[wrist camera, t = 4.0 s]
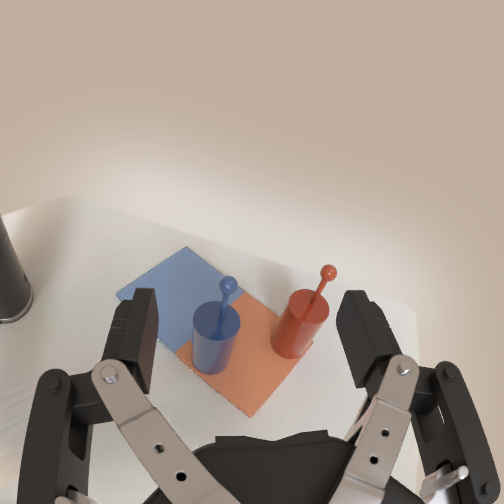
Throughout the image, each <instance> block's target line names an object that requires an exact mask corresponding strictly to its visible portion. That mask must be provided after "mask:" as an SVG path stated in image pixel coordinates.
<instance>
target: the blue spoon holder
mask: <svg viewBox="0 0 504 504" xmlns="http://www.w3.org/2000/svg"><path fill="white" fill-rule="evenodd" d="M237 288H238V282H237V280H236V279H235V278H234V277H232V276H224V277H223V278H221V280H220V282H219V289H220V291H221V292H222V293H223V298H222V302H220V301H210V302H206V303H204V304H202V305H200V306H199V307H198V308H197V309H196V311H195V312H194V315H193V324H192V338H191V354H190V358H191V362H192V364H193V366H194V367H195V368H196V369H197V370H198V371H200V372H202V373H204V374H208V375H214V374H218V373H220V372H222V371H224V370H225V369H226V368H227V366H228V364H229V361H230V358H231V355H232V351H233V348H234V345H235V342H236V339H237V335H238V332H239V329H240V324H241V321H240V317H239V315H238V313H237V311H236V310H235V309H234V308H233V307H232V306H230V305H229V304H228V300H229V296H230V295H231V294H233V293H235V292H236V291H237Z"/></svg>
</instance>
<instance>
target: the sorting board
mask: <svg viewBox="0 0 504 504" xmlns="http://www.w3.org/2000/svg"><path fill="white" fill-rule="evenodd" d="M223 277H224V275H222V274H221V273H220V272H218V271H217V270H216V269H215V268H213V267H212V266H211V265H209V264H208V263H207V262H205V261H204V260H203V259H202V258H200V257H199V256H198V255H196V254H195V253H194V252H193V251H191V250H190V249H189V248H187V247H185V248H183V249H182V250H180V251H179V252H177V253H176V254H174V255H173V256H171V257H170V258H168V259H167V260H165V261H164V262H162V263H160V264H159V265H157V266H156V267H154V268H153V269H151V270H150V271H148V272H147V273H145V274H144V275H142V276H141V277H139V278H138V279H136V280H135V281H133V282H132V283H131V284H129V285H128V286H126V287H125V288H123V289H122V290H120V291H119V292H117V293H116V295H117V297H118V298H119V299H120V300H121V301H123V300H124V299H125V300H132V299H133V295H134V292H135V289H136V288H137V287H138V288H154V289H155V294H156V301H157V307H158V314H159V328H158V334H157V337H158V338H159V339H160V340H161V341H162V342H163V343H164V344H165V345H166V346H167V347H168V348H169V349H170V350H171V351H172V352H173V353H174V354H176V355H177V356H178V357H179V358H180V359H181V360H182V361H183V362H184V363H185V364H187V365H188V366H189V367H190V368H191V369H192V370H193V371H194V372H196V373H197V374H198V375H199V376H200V377H201V378H202V379H204V380H205V381H206V382H207V383H208V384H209V385H211V386H212V387H213V388H214V389H215V390H217V391H218V392H219V393H220V394H221V395H223V396H224V397H225V398H226V399H227V400H229V401H230V402H231V403H232V404H234V405H235V406H236V407H237V408H239V409H240V410H241V411H242V412H244V413H245V414H246V415H248V416H249V417H250V418H251V417H252V416H253V415H254V414H255V413H256V411H257V410H258V409H259V408H260V407H261V406H262V405H263V403H264V402H265V401H266V400H267V399H268V398H269V397H270V395H271V394H272V393H273V392H274V391H275V389H276V388H277V387H278V386H279V385H280V384H281V382H282V381H283V380H284V379H285V377H286V376H287V375H288V374H289V373H290V371H291V370H292V369H293V368H294V366H295V365H296V364H297V363H298V361H299V360H300V359H301V358H302V356H303V355H304V354H305V353H306V351H307V350H308V349H309V347H310V346H311V345H312V344H313V341H311V343H310V344H309V346H308V347H307V348H306V350H305V351H304V353H303V354H302V355H301V356H300V357H298V358H295V359H286V358H283V357H281V356H279V355H278V354H277V353H276V352H275V351H274V350H273V348H272V346H271V336H272V334H273V332H274V330H275V328H276V326H277V324H278V321H279V319H280V317H278V316H277V315H276V314H274V313H273V312H272V311H270V310H269V309H268V308H266V307H265V306H264V305H262V304H261V303H259V302H258V301H257V300H255V299H254V298H253V297H251V296H250V295H249V294H247V293H246V292H245V291H243V290H242V289H241V288H240V287H238V288H237V291H236V292H235V293H233V294H231V295H230V296H229V300H228V304H229V305H230V306H232V307H233V308H234V309H235V310H236V311H237V313H238V315H239V317H240V321H241V324H240V329H239V332H238V335H237V339H236V342H235V345H234V348H233V351H232V355H231V358H230V361H229V364H228V366H227V368H226V369H225V370H224V371H222V372H220V373H218V374H214V375H208V374H204V373H202V372H200V371H198V370H197V369H196V368H195V367H194V366H193V364H192V362H191V358H190V354H191V338H192V324H193V315H194V312H195V311H196V309H197V308H198V307H199V306H200V305H202V304H204V303H206V302H210V301H220V302H222V298H223V293H222V292H221V291H220V289H219V282H220V280H221V278H223Z"/></svg>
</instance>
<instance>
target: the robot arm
mask: <svg viewBox="0 0 504 504" xmlns="http://www.w3.org/2000/svg"><path fill="white" fill-rule="evenodd" d="M32 300H33V290H32V287H31V285H30V283H29V282H28V280H27V278H26V276H25V274H24V272H23V269H22V267H21V265H20V263H19V260H18V258H17V256H16V253H15V251H14V249H13V246H12V244H11V241H10V239H9V236H8V234H7V231H6V228H5V226H4V223H3V220H2V217H1V214H0V323H10V322H14V321H16V320H18V319H20V318H21V317H22V316H23V315H24V314H25V313H26V312H27V311H28V309H29V308H30V306H31V303H32ZM336 326H337V330H338V333H339V336H340V339H341V342H342V345H343V348H344V351H345V354H346V357H347V361H348V364H349V367H350V370H351V373H352V376H353V380H354V383H355V386H356V389H357V388H364V387H365V388H366V391H367V395H366V397H365V399H364V401H363V403H362V406H361V408H360V410H359V412H358V414H357V416H356V418H355V421H354V423H353V425H352V427H351V428H350V430H349V432H348V433H347V435H346V436H345V438H344V439H343V440H342V439H339V438H336V437H331V436H328V431H327V430H320V431H311V432H301V433H298V434H295V435H292V436H289V437H286V438H283V439H280V440H277V441H268V440H262V439H257V438H251V437H246V436H215V441H216V442H215V443H211V444H208V445H205V446H202V447H200V448H198V449H196V450H194V451H193V452H191V451H190V450H189V448H188V447H187V446H186V445H185V444H184V442H183V441H182V440H181V439H180V437H179V436H178V435H177V434H176V432H175V431H174V430H173V429H172V427H171V426H170V425H169V423H168V422H167V421H166V419H165V418H164V417H163V415H162V414H161V413H160V412H159V410H158V409H157V408H156V407H153V406H152V404H151V403H150V402H149V400H148V399H147V397H146V396H145V394H149V390H150V382H151V375H152V367H153V360H154V354H155V347H156V340H157V334H158V328H159V314H158V307H157V301H156V294H155V289H154V288H138V287H137V288H136V289H135V292H134V295H133V299H132V300H125V299H124V300H123V301H122V302H121V303H120V304H119V306H118V307H117V308H116V311H115V314H114V317H113V321H112V324H111V329H110V331H109V334H108V338H107V342H106V345H105V349H104V353H103V356H102V359H101V361H100V362H99V363H98V364H97V365H96V366H95V367H94V369H93V370H91V371H89V372H87V373H83V374H77V375H71V376H69V375H68V374H67V373H66V372H65V371H63V370H61V369H51V370H48V371H46V372H45V373H44V374H43V375H42V376H41V377H40V379H39V381H38V384H37V388H36V392H35V396H34V400H33V404H32V409H31V413H30V418H29V422H28V427H27V432H26V437H25V443H24V449H23V455H22V461H21V468H20V476H19V484H18V494H17V504H97V503H96V502H95V501H94V500H93V499H91V498H89V497H88V477H89V462H90V450H91V440H92V431H93V424H98V423H104V422H110V421H115V423H116V425H117V426H118V428H119V430H120V432H121V433H122V435H123V436H124V438H125V439H126V441H127V443H128V444H129V446H130V447H131V449H132V450H133V452H134V453H135V455H136V456H137V457H138V459H139V460H140V462H141V463H142V465H143V466H144V467H145V469H146V470H147V472H148V473H149V474H150V476H151V477H152V478H153V480H154V481H155V482H156V484H157V485H158V486H159V487H158V488H157V489H156V490H155V491H154V492H153V493H152V494H151V495H150V496H149V497H148V498H147V500H146V501H145V502H144V503H143V504H493V503H494V502H495V501H496V500H497V498H498V496H499V493H500V482H499V478H498V474H497V471H496V468H495V464H494V461H493V457H492V454H491V451H490V448H489V445H488V443H487V439H486V436H485V433H484V430H483V428H482V425H481V422H480V419H479V417H478V414H477V411H476V409H475V406H474V404H473V401H472V398H471V396H470V394H469V391H468V389H467V387H466V384H465V382H464V379H463V377H462V375H461V372H460V370H459V369H458V368H457V366H455V365H454V364H453V363H451V362H448V361H443V362H440V363H439V364H438V365H437V366H436V367H435V368H434V369H433V368H426V367H421V366H418V364H417V363H416V362H415V360H413V359H412V358H411V357H409V356H407V355H403V354H402V352H401V350H400V348H399V345H398V343H397V341H396V339H395V337H394V334H393V332H392V330H391V328H389V324H388V322H387V320H386V317H385V315H384V313H383V311H382V309H381V308H380V307H379V306H378V305H377V304H376V303H375V302H374V301H373V302H370V301H369V299H368V297H367V295H366V293H365V291H364V290H347V291H346V292H345V294H344V297H343V300H342V302H341V305H340V308H339V311H338V313H337V317H336ZM438 406H439V407H440V410H441V413H442V416H443V419H444V423H443V419H442V417H441V414H440V411H439V408H438ZM410 420H411V423H412V427H413V430H414V434H415V437H416V441H417V445H418V448H419V452H420V456H421V460H422V464H423V468H424V472H425V477H426V478H425V479H424V480H423V483H422V487H421V490H420V496H421V498H420V497H418V496H417V495H416V494H414V493H413V492H412V491H410V490H409V489H408V488H406V487H405V486H404V485H402V484H401V483H400V482H398V481H397V480H396V479H394V478H393V477H392V476H391V475H390V474H391V472H392V469H393V467H394V464H395V462H396V459H397V457H398V454H399V452H400V449H401V446H402V443H403V441H404V438H405V435H406V432H407V429H408V426H409V423H410Z"/></svg>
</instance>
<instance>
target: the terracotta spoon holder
mask: <svg viewBox="0 0 504 504" xmlns="http://www.w3.org/2000/svg"><path fill="white" fill-rule="evenodd" d="M320 275H321V278H322V280H321V282H320V284H319V286H318V288H317V290H316V292H315V291H312V290H308V289H301V290H298V291H295V292H294V293H293V294H292V295H291V296H290V298H289V300H288V302H287V304H286V307H285V309H284V311H283V313H282V315H281V317H280V319H279V321H278V324H277V326H276V328H275V330H274V332H273V334H272V336H271V346H272V348H273V350H274V351H275V352H276V353H277V354H278V355H279V356H281V357H283V358H286V359H295V358H298V357H300V356H301V355H302V354H303V353H304V351H305V350H306V348H307V347H308V346H309V344H310V343H311V341H312V340H313V338H314V337H315V335H316V334H317V332H318V331H319V329H320V328H321V327H322V325H323V324H324V322H325V321H326V319H327V317H328V315H329V306H328V303H327V301H326V300H325V299H324V297H323V296H321V295H320V294H321V292H322V290H323V288H324V287H325V285H326V283H327V281H328V282H329V281H333V280H334V279H335V278H336V276H337V271H336V268H335V267H334V266H332V265H325V266H323V268H322V269H321V271H320Z"/></svg>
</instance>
